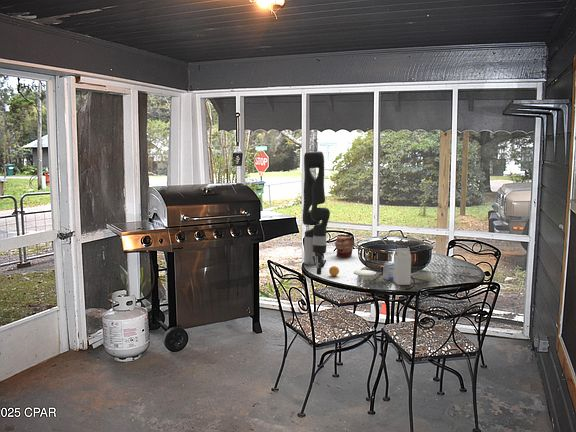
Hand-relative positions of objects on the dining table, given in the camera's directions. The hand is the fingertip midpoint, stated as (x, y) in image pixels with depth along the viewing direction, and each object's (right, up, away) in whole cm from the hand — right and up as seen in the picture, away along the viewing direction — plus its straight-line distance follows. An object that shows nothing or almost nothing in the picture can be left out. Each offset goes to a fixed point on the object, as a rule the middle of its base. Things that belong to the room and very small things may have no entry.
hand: (318, 274), depth 277 cm
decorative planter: (+21, +5, +57) cm, 61 cm away
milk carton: (+44, -4, -10) cm, 45 cm away
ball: (+9, +1, +4) cm, 10 cm away
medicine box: (+40, -3, 0) cm, 40 cm away
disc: (+27, -1, +12) cm, 30 cm away
